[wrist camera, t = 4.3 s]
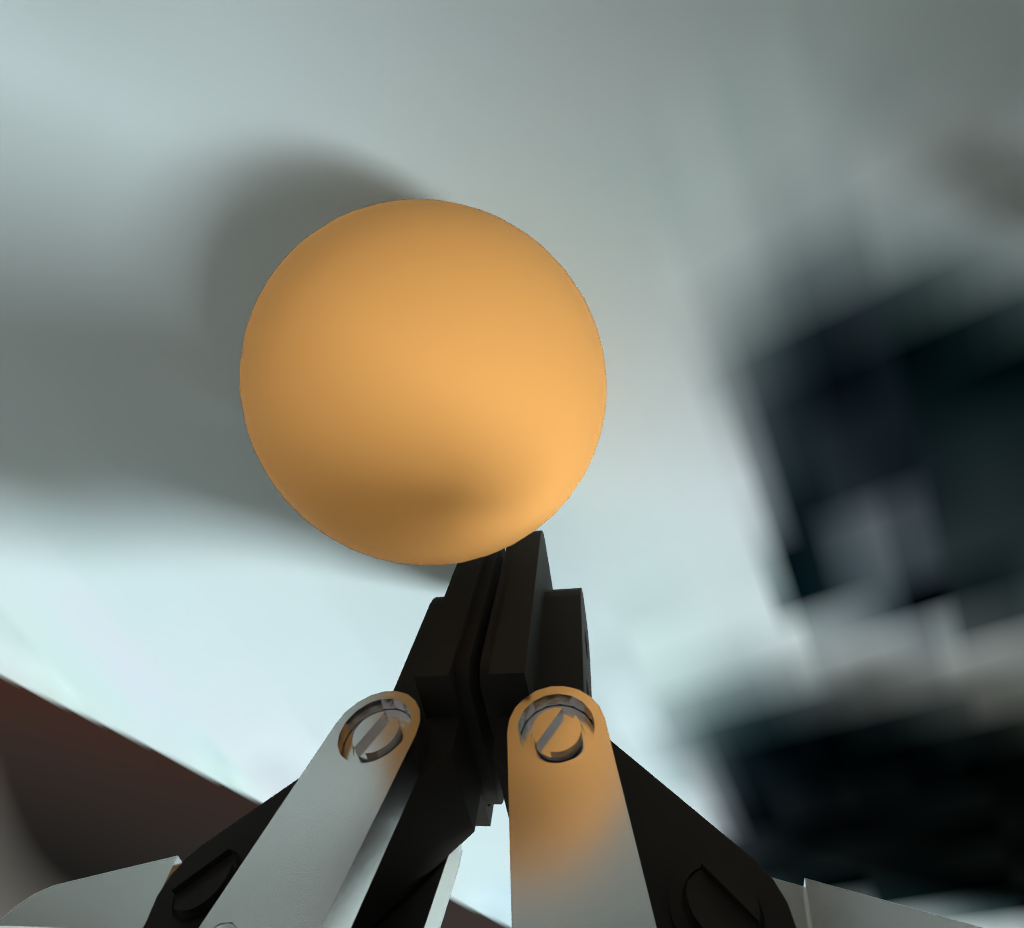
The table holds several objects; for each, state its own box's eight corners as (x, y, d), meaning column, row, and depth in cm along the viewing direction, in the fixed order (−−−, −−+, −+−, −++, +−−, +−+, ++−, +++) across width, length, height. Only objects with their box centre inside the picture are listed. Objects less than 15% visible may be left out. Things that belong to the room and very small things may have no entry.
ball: (645, 552, 9) (594, 301, 10) (626, 488, 4) (534, 19, 5) (381, 590, 10) (374, 362, 12) (98, 583, 5) (156, 182, 7)
